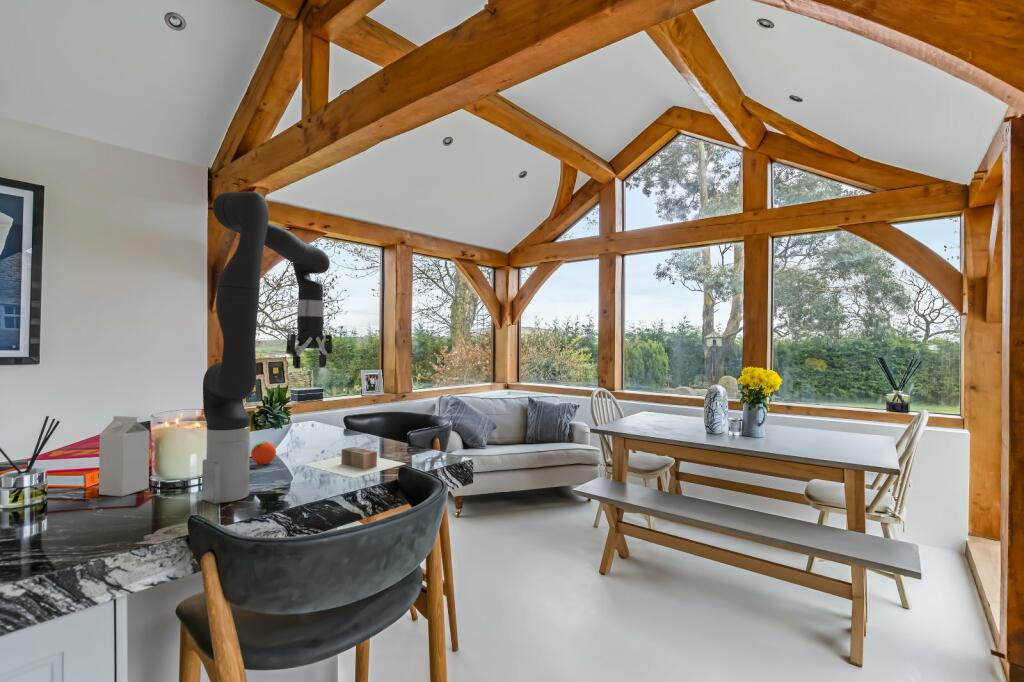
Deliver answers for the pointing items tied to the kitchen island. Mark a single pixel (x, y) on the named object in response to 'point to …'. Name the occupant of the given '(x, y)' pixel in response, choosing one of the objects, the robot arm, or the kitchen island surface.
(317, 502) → the kitchen island surface
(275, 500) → the kitchen island surface
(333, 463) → the cream flat board
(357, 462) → the walnut block
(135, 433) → the milk carton
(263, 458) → the clementine
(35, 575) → the kitchen island surface
